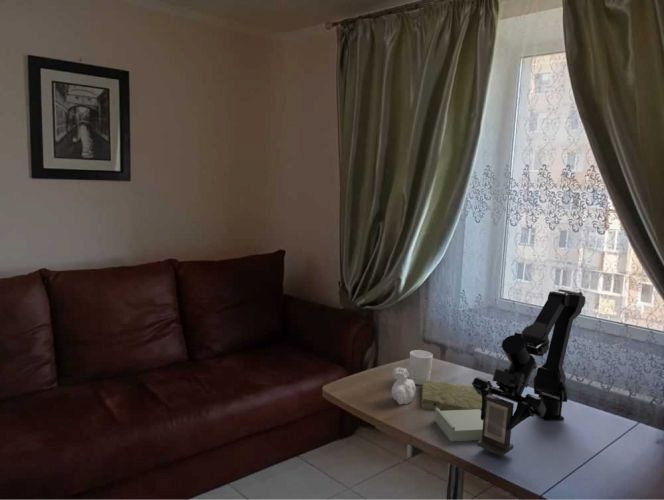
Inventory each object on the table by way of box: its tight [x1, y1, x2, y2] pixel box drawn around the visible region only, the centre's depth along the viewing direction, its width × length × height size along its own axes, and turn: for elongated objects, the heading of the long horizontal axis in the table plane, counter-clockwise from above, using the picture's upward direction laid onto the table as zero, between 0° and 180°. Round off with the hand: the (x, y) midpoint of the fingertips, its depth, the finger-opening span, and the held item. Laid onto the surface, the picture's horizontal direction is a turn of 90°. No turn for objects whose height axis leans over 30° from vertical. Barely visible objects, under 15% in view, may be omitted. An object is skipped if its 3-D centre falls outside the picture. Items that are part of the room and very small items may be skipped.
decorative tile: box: [421, 380, 482, 411], centre depth 167 cm, size 18×20×4 cm
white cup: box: [409, 349, 434, 386], centre depth 182 cm, size 8×8×10 cm
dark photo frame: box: [476, 395, 515, 457], centre depth 136 cm, size 6×7×13 cm
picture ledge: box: [434, 408, 483, 442], centre depth 149 cm, size 14×12×4 cm
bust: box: [391, 367, 417, 405], centre depth 167 cm, size 12×8×11 cm
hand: (494, 424), depth 135 cm, fingers closed on dark photo frame, 7 cm apart
